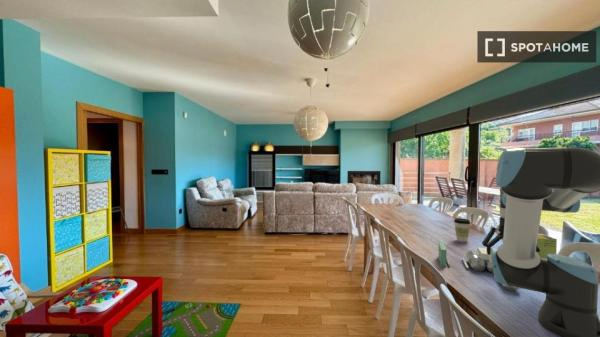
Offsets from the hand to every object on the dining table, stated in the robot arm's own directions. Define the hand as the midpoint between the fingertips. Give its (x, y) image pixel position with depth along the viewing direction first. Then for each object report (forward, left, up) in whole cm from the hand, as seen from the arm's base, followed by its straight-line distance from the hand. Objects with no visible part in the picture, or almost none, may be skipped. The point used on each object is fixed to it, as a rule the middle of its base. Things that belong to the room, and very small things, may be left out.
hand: (509, 264), depth 113 cm
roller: (0, 0, -10) cm, 10 cm away
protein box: (+35, -20, -10) cm, 41 cm away
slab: (+18, 0, -4) cm, 18 cm away
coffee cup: (+66, +8, -10) cm, 67 cm away
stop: (+18, +25, -10) cm, 32 cm away
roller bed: (+18, +2, -10) cm, 20 cm away
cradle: (+18, +18, -10) cm, 27 cm away
